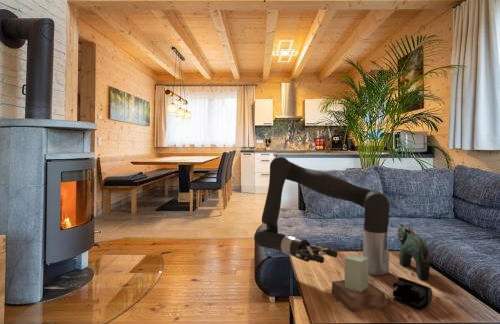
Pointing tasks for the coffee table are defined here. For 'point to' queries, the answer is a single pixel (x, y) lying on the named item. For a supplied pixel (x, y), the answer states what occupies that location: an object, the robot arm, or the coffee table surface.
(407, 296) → the end cap
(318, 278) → the coffee table surface
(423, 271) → the green animal figurine
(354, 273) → the tall sage green block
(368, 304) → the walnut box
